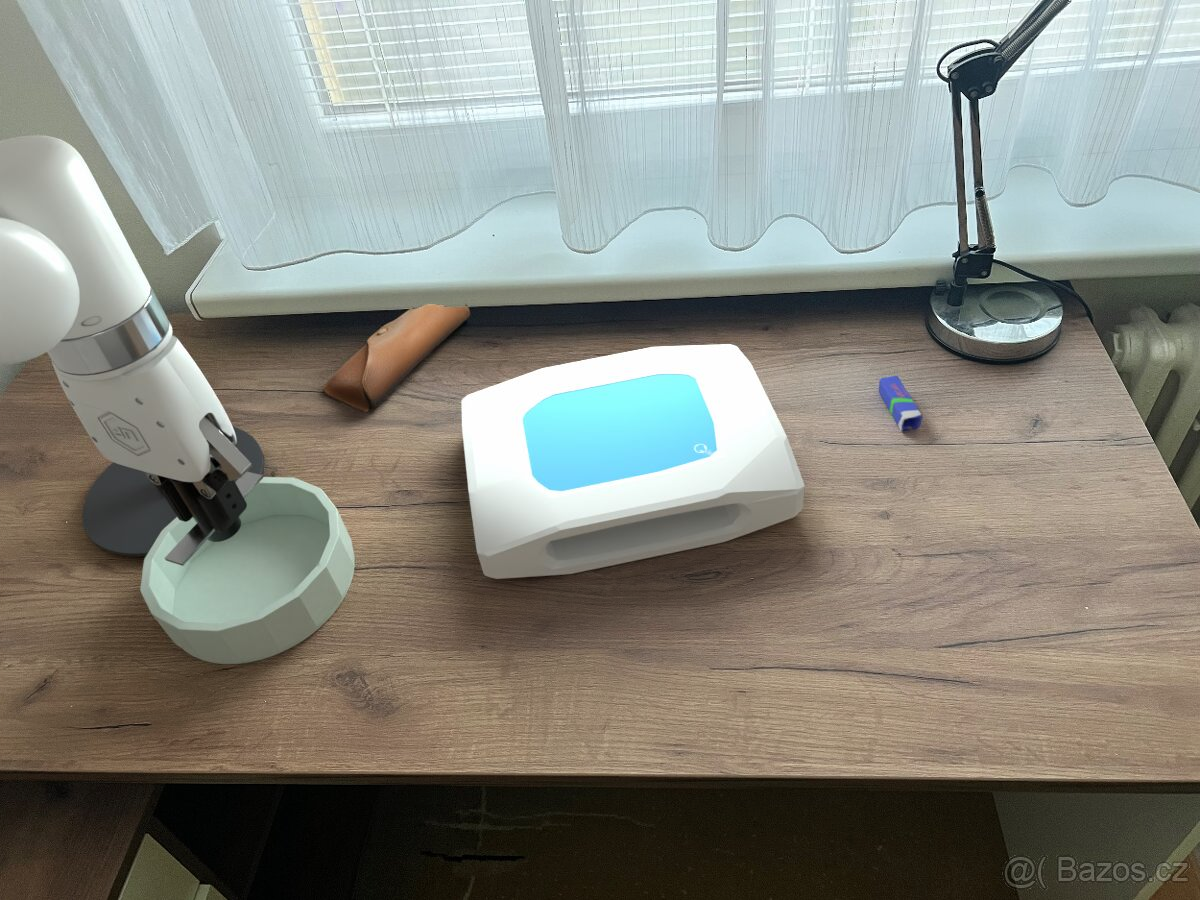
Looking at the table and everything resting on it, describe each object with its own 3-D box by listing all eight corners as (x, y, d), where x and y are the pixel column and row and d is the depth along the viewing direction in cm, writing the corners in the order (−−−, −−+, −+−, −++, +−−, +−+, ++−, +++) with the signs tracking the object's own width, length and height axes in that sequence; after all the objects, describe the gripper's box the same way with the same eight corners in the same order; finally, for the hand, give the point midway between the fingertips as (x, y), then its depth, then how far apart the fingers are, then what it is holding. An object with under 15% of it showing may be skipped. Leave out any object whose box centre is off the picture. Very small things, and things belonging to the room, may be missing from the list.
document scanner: (470, 429, 90) (457, 383, 85) (734, 377, 92) (734, 329, 87) (488, 592, 75) (473, 546, 70) (803, 526, 76) (808, 477, 72)
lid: (115, 593, 79) (72, 539, 74) (67, 488, 90) (26, 435, 84) (294, 494, 86) (266, 438, 80) (230, 408, 96) (201, 353, 91)
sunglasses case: (416, 302, 106) (427, 267, 101) (462, 337, 107) (475, 304, 101) (316, 392, 96) (322, 359, 90) (367, 431, 96) (377, 400, 91)
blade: (196, 578, 68) (156, 519, 64) (167, 569, 69) (126, 510, 65) (274, 490, 75) (244, 429, 70) (247, 482, 76) (215, 423, 71)
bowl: (205, 702, 70) (178, 668, 66) (143, 578, 80) (116, 543, 76) (387, 588, 76) (371, 552, 73) (308, 486, 86) (291, 450, 83)
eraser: (899, 433, 83) (902, 417, 82) (877, 393, 88) (879, 377, 86) (919, 430, 83) (923, 414, 82) (896, 390, 88) (899, 374, 86)
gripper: (-26, 343, 59) (106, 525, 71) (159, 385, 53) (266, 573, 66) (60, 282, 63) (169, 462, 76) (238, 315, 58) (324, 503, 71)
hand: (213, 512), depth 71 cm, fingers closed on blade, 3 cm apart
